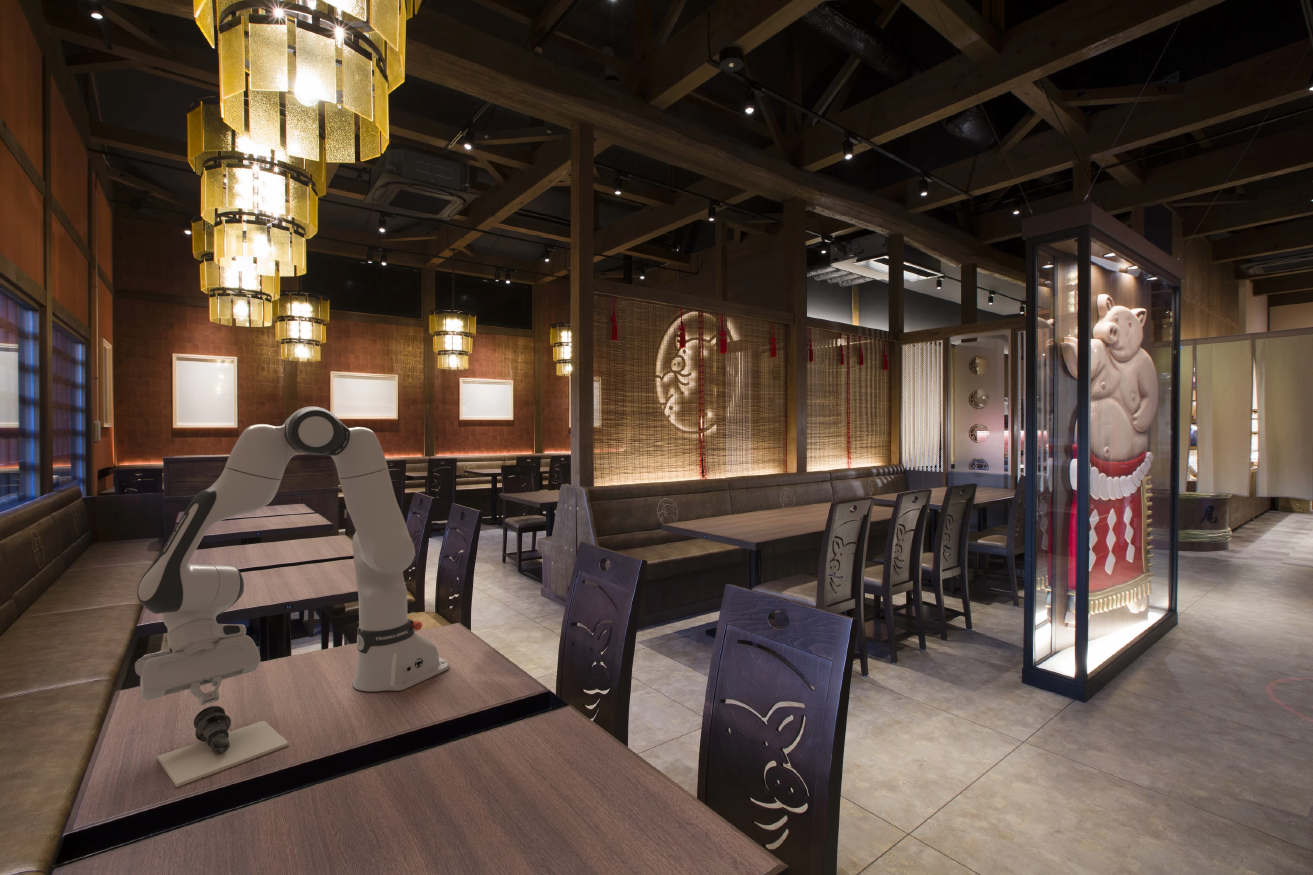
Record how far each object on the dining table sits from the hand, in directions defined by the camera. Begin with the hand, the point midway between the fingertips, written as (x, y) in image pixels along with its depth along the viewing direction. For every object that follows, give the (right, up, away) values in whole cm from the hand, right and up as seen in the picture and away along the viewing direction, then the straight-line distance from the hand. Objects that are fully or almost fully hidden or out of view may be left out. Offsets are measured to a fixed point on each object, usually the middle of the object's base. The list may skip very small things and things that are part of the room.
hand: (210, 701), depth 124 cm
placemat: (+7, -8, -6) cm, 12 cm away
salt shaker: (0, -3, 0) cm, 3 cm away
